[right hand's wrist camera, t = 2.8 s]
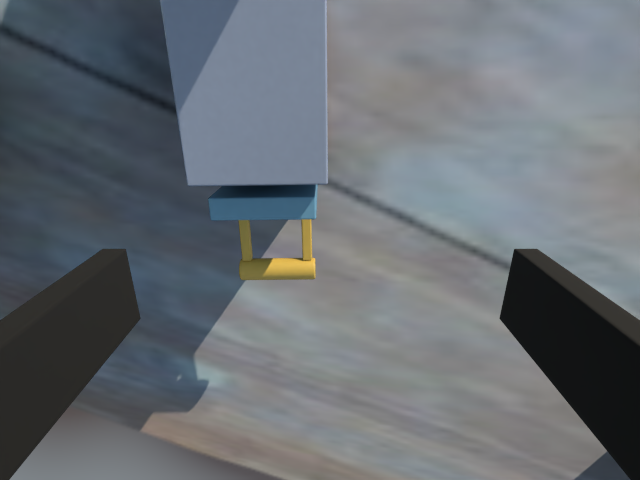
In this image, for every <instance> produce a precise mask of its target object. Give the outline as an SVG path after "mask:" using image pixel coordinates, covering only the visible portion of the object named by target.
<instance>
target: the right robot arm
mask: <svg viewBox="0 0 640 480" xmlns="http://www.w3.org/2000/svg"><path fill="white" fill-rule="evenodd" d="M139 320H140V314H139V310H138V305H137V300H136V296H135V291H134V286H133V281H132V277H131V272H130V267H129V262H128V258H127V253H126V249H102V250H101V251H99V252H98V253H96V254H95V255H94V256H92V257H91V258H89V259H88V260H86V261H85V262H84V263H82V264H81V265H79V266H78V267H76V268H75V269H73V270H72V271H71V272H69V273H68V274H66V275H65V276H63V277H62V278H61V279H59V280H58V281H56V282H55V283H53V284H52V285H50V286H49V287H48V288H46V289H45V290H43V291H42V292H40V293H39V294H38V295H36V296H35V297H33V298H32V299H30V300H29V301H27V302H26V303H25V304H23V305H22V306H20V307H19V308H17V309H16V310H15V311H13V312H12V313H10V314H9V315H7V316H6V317H4V318H3V319H2V320H0V480H9V479H10V478H11V477H12V476H13V474H14V473H15V472H16V471H17V469H18V468H19V467H20V466H21V464H22V463H23V462H24V461H25V460H26V458H27V457H28V456H29V455H30V454H31V452H32V451H33V450H34V449H35V447H36V446H37V445H38V444H39V442H40V441H41V440H42V439H43V438H44V436H45V435H46V434H47V433H48V431H49V430H50V429H51V428H52V426H53V425H54V424H55V423H56V422H57V420H58V419H59V418H60V417H61V415H62V414H63V413H64V412H65V410H66V409H67V408H68V407H69V406H70V404H71V403H72V402H73V401H74V399H75V398H76V397H77V396H78V395H79V393H80V392H81V391H82V390H83V388H84V387H85V386H86V385H87V384H88V382H89V381H90V380H91V379H92V377H93V376H94V375H95V374H96V372H97V371H98V370H99V369H100V368H101V366H102V365H103V364H104V363H105V361H106V360H107V359H108V358H109V356H110V355H111V354H112V353H113V352H114V350H115V349H116V348H117V347H118V345H119V344H120V343H121V342H122V341H123V339H124V338H125V337H126V336H127V334H128V333H129V332H130V331H131V329H132V328H133V327H134V326H135V325H136V323H137V322H138V321H139ZM500 320H501V321H502V322H503V323H504V325H505V326H506V327H507V328H508V329H509V331H510V332H511V333H512V334H513V336H514V337H515V338H516V339H517V341H518V342H519V343H520V344H521V345H522V347H523V348H524V349H525V350H526V352H527V353H528V354H529V355H530V356H531V358H532V359H533V360H534V361H535V363H536V364H537V365H538V366H539V368H540V369H541V370H542V371H543V372H544V374H545V375H546V376H547V377H548V379H549V380H550V381H551V382H552V384H553V385H554V386H555V387H556V388H557V390H558V391H559V392H560V393H561V395H562V396H563V397H564V398H565V399H566V401H567V402H568V403H569V404H570V406H571V407H572V408H573V409H574V411H575V412H576V413H577V414H578V415H579V417H580V418H581V419H582V420H583V422H584V423H585V424H586V425H587V426H588V428H589V429H590V430H591V431H592V433H593V434H594V435H595V436H596V438H597V439H598V440H599V441H600V442H601V444H602V445H603V446H604V447H605V449H606V450H607V451H608V452H609V454H610V455H611V456H612V457H613V458H614V460H615V461H616V462H617V463H618V465H619V466H620V467H621V468H622V469H623V471H624V472H625V473H626V474H627V476H628V477H629V478H630V479H631V480H640V320H638V319H637V318H636V317H634V316H633V315H631V314H630V313H628V312H627V311H625V310H624V309H623V308H621V307H620V306H618V305H617V304H615V303H614V302H613V301H611V300H610V299H608V298H607V297H605V296H604V295H602V294H601V293H600V292H598V291H597V290H595V289H594V288H592V287H591V286H590V285H588V284H587V283H585V282H584V281H582V280H581V279H579V278H578V277H577V276H575V275H574V274H572V273H571V272H569V271H568V270H567V269H565V268H564V267H562V266H561V265H559V264H558V263H556V262H555V261H554V260H552V259H551V258H549V257H548V256H546V255H545V254H544V253H542V252H541V251H539V250H538V249H514V253H513V258H512V262H511V267H510V272H509V277H508V281H507V286H506V291H505V296H504V300H503V305H502V310H501V314H500Z"/></svg>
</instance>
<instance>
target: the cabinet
mask: <svg viewBox="0 0 640 480" xmlns="http://www.w3.org/2000/svg"><path fill="white" fill-rule="evenodd" d="M160 4H161V10H162V17H163V24H164V31H165V37H166V44H167V51H168V58H169V64H170V71H171V78H172V85H173V91H174V98H175V105H176V112H177V118H178V125H179V132H180V139H181V145H182V152H183V159H184V166H185V172H186V179H187V185H188V186H248V185H325V184H327V183H328V139H327V0H160Z"/></svg>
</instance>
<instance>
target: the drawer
mask: <svg viewBox="0 0 640 480" xmlns="http://www.w3.org/2000/svg"><path fill="white" fill-rule="evenodd" d="M317 187H318V185H248V186H222V187H221V188H220V189H219V190H217V191H216V192H215V193H214V194H213V195H212V196H211V197H209V198H208V202H209V210H210V218H211V220H239V230H240V240H241V250H242V259H241V261H240V264H239V275H240V278H241V280H292V279H315V258H312V233H311V219H316V208H317ZM295 219H301V221H302V250H303V258H257V259H252V258H253V255H252V243H251V232H250V221H249V220H295Z"/></svg>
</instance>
